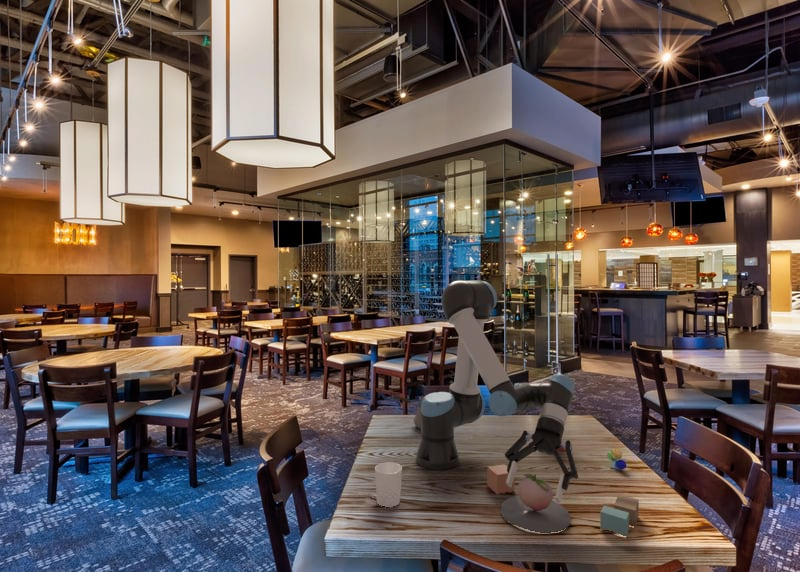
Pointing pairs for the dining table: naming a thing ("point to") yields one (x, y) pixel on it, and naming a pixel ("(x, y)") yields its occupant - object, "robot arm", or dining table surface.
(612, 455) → the dice
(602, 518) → the teal block
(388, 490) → the white cup
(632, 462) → the dining table surface
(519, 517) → the slate plate
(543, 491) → the decorative fruit
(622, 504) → the walnut block
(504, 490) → the terracotta block
